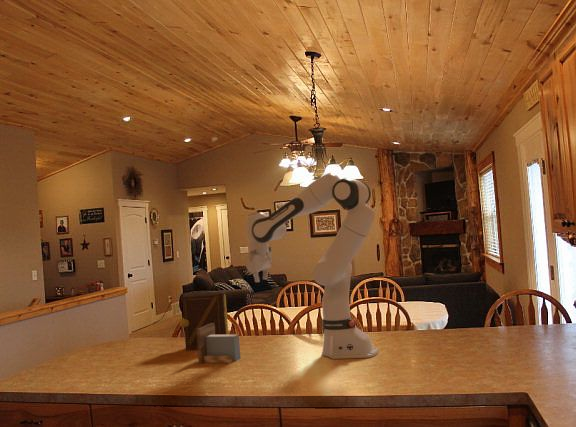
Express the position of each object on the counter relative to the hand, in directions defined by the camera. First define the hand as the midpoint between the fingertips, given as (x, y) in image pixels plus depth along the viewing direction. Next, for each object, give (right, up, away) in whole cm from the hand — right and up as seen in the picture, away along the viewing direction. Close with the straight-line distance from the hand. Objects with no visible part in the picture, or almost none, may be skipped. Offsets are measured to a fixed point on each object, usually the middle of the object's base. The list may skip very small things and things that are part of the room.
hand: (261, 280), depth 235 cm
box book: (-15, -31, -14) cm, 37 cm away
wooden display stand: (-15, -31, -14) cm, 37 cm away
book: (-26, -33, +11) cm, 44 cm away
